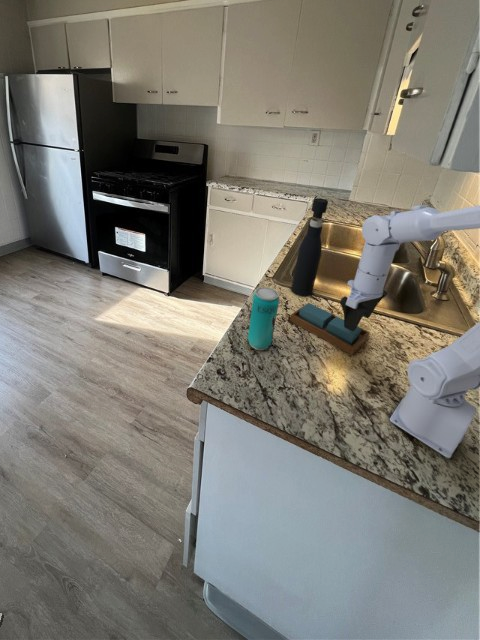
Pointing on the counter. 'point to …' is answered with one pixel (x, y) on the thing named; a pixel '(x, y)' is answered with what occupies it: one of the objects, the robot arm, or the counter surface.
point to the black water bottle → (309, 252)
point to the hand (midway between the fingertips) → (356, 322)
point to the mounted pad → (315, 315)
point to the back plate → (329, 337)
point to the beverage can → (263, 317)
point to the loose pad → (342, 331)
